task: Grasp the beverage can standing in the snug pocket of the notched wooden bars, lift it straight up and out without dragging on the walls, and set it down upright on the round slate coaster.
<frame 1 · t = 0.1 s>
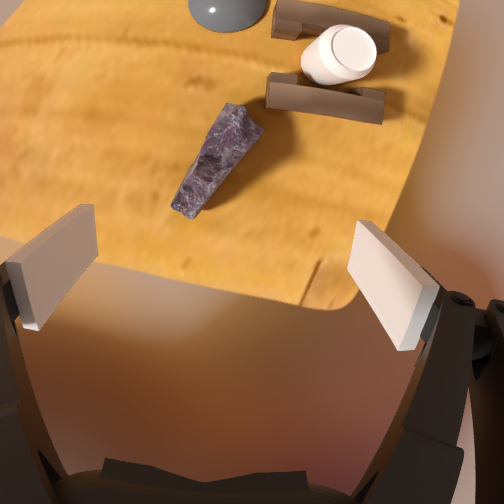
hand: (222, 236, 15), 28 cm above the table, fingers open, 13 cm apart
stone: (214, 157, 41), on the table
beverage can: (322, 64, 36), on the table
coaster: (227, 0, 32), on the table
notched wooden bars: (322, 64, 36), on the table
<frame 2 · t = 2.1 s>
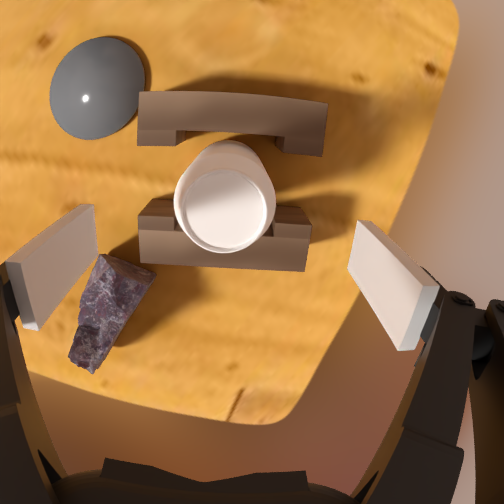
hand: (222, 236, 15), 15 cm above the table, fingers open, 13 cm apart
stone: (112, 297, 34), on the table
beverage can: (228, 172, 29), on the table
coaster: (95, 87, 24), on the table
notched wooden bars: (228, 172, 29), on the table
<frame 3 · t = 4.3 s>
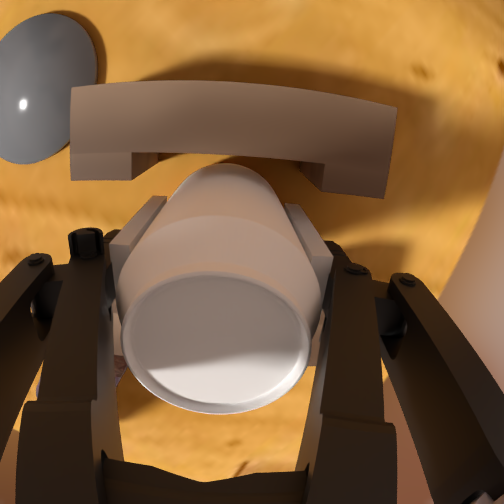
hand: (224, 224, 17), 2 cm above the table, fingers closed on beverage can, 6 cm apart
stone: (85, 371, 24), on the table
beverage can: (225, 212, 19), on the table, touching gripper
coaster: (31, 87, 14), on the table
notched wooden bars: (225, 212, 19), on the table
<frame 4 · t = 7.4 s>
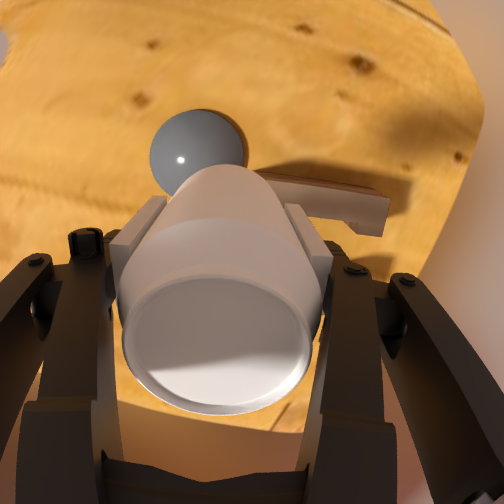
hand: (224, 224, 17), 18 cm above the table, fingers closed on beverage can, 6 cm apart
beverage can: (225, 213, 19), point 16 cm above the table, touching gripper
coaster: (196, 156, 33), on the table
notched wooden bars: (304, 238, 37), on the table
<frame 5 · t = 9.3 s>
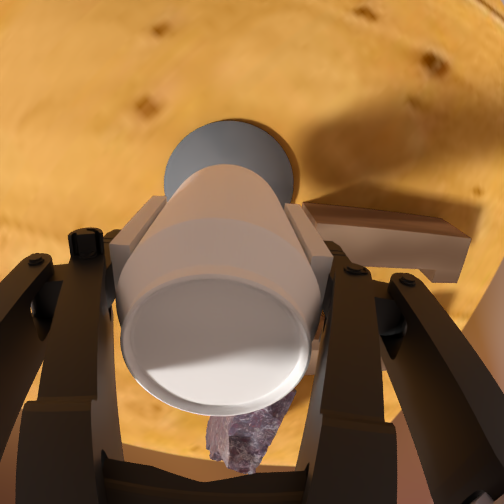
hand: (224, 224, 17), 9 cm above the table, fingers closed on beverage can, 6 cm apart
stone: (240, 393, 35), on the table
beverage can: (225, 213, 19), point 7 cm above the table, touching gripper
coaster: (228, 184, 25), on the table
notched wooden bars: (363, 281, 29), on the table
when the fingers open (3 cm above the table, at t = 10.9 s): beverage can stays where it is, resting on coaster.
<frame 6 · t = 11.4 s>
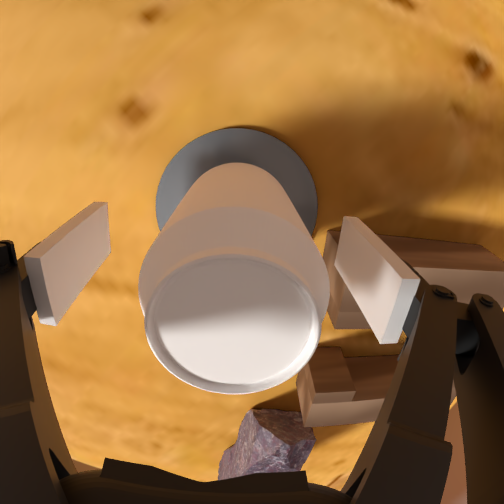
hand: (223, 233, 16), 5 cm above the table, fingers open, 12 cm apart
stone: (254, 435, 30), on the table
beverage can: (236, 209, 20), resting on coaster
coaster: (236, 208, 20), on the table
notched wooden bars: (392, 318, 24), on the table
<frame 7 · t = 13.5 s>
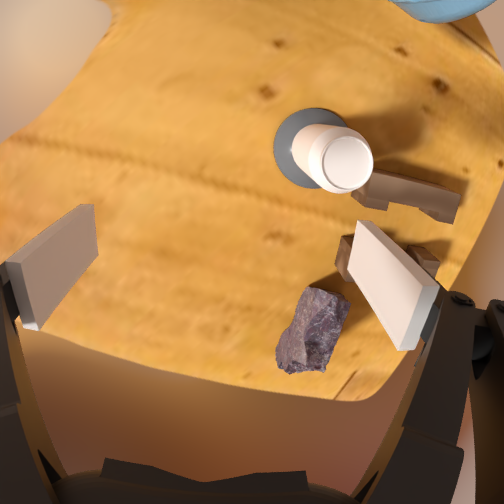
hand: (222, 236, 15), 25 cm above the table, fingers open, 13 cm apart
stone: (304, 317, 48), on the table
beverage can: (315, 148, 37), resting on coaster
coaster: (314, 148, 37), on the table
notched wooden bars: (391, 223, 42), on the table
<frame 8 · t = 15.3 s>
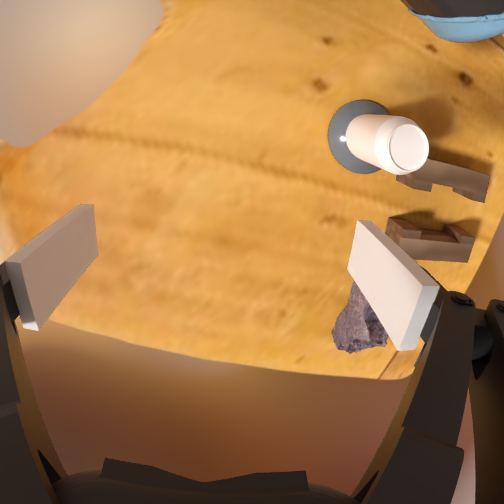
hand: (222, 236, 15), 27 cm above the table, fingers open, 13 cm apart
stone: (357, 298, 50), on the table
beverage can: (364, 136, 39), resting on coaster
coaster: (363, 136, 39), on the table
notched wooden bars: (430, 204, 43), on the table
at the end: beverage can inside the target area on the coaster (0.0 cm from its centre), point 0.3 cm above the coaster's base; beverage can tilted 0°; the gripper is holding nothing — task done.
